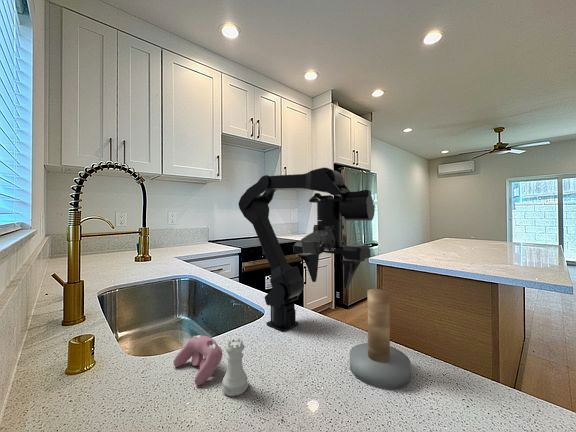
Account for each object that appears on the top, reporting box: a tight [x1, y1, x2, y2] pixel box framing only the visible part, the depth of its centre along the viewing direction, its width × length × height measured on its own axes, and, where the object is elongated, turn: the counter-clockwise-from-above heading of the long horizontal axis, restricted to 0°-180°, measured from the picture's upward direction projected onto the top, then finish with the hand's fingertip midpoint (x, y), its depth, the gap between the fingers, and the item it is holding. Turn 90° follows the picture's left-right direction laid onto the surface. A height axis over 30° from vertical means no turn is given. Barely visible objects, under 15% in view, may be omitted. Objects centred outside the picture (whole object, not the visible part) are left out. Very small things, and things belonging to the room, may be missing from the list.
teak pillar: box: [366, 288, 391, 363], centre depth 49 cm, size 4×4×12 cm
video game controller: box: [173, 334, 223, 387], centre depth 49 cm, size 10×5×7 cm, turn 48°
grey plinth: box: [349, 342, 412, 390], centre depth 49 cm, size 11×11×2 cm
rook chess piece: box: [221, 338, 249, 397], centre depth 43 cm, size 4×4×8 cm
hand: (329, 285), depth 61 cm, fingers open, 9 cm apart
